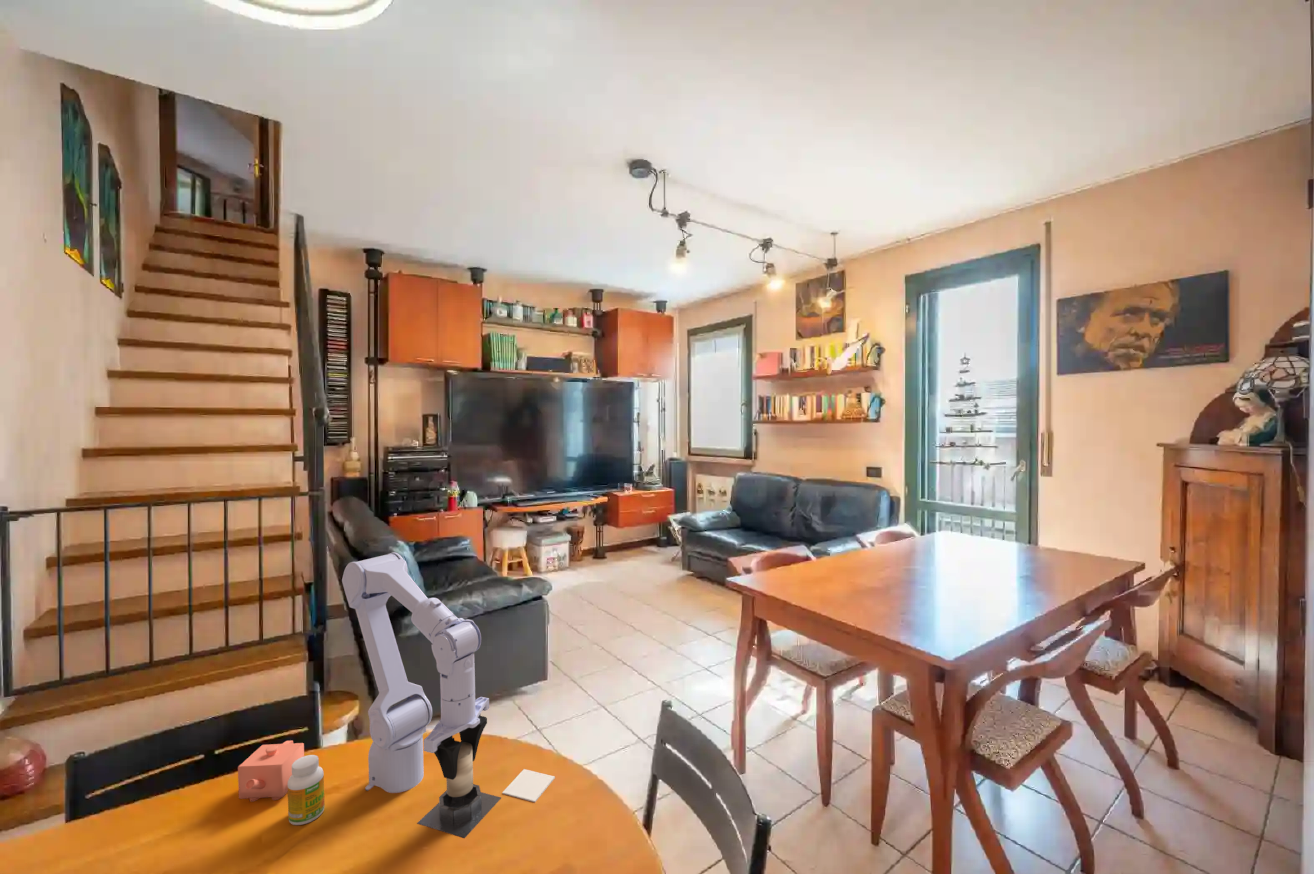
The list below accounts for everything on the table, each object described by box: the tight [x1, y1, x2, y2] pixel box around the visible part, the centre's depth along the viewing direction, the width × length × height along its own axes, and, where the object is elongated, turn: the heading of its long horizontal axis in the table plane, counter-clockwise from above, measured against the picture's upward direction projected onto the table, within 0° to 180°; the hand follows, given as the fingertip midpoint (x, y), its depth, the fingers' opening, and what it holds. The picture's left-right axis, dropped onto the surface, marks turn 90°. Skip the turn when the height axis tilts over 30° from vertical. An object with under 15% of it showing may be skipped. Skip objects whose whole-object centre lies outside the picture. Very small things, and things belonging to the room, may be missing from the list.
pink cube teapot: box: [237, 740, 305, 802], centre depth 101 cm, size 8×12×8 cm, turn 4°
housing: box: [416, 783, 502, 839], centre depth 95 cm, size 10×10×3 cm
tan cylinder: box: [446, 742, 474, 797], centre depth 95 cm, size 4×4×7 cm
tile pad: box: [501, 768, 556, 803], centre depth 101 cm, size 7×7×1 cm
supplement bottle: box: [287, 754, 325, 826], centre depth 95 cm, size 5×5×10 cm
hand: (459, 768), depth 95 cm, fingers closed on tan cylinder, 4 cm apart
